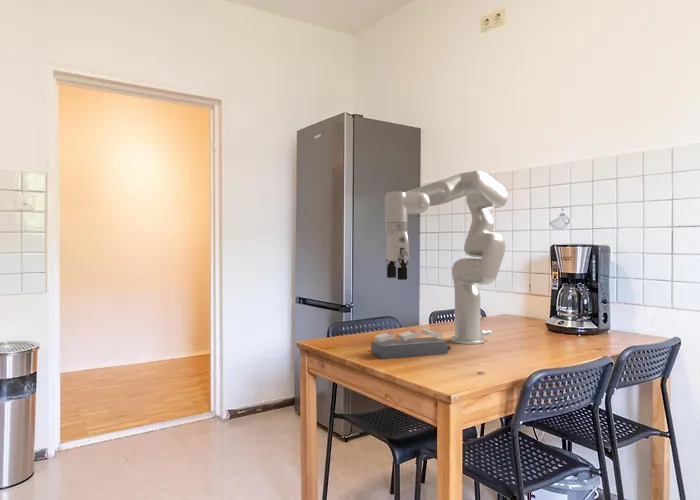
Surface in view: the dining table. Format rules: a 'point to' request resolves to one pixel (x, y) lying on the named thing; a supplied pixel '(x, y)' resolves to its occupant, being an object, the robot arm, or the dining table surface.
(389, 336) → the rocker
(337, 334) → the dining table surface
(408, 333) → the rocker
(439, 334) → the plate
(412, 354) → the power strip
